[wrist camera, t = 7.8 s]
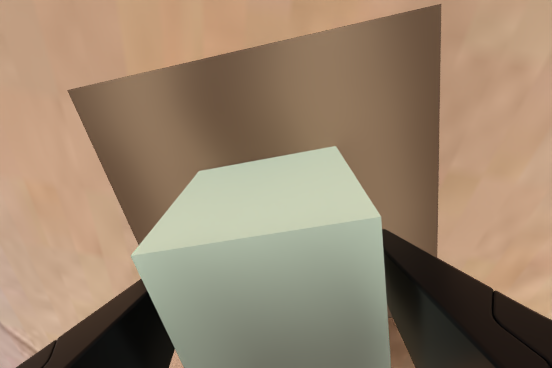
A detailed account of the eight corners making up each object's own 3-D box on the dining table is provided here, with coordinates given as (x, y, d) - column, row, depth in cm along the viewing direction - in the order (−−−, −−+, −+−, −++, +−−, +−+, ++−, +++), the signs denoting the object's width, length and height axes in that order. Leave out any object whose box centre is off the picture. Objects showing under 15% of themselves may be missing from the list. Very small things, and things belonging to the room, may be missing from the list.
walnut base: (393, 22, 12) (441, 3, 8) (403, 256, 16) (436, 312, 13) (129, 82, 13) (67, 90, 10) (204, 282, 18) (182, 340, 14)
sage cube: (335, 145, 10) (381, 216, 5) (350, 261, 12) (392, 388, 7) (198, 171, 10) (130, 255, 6) (233, 278, 12) (202, 406, 8)
